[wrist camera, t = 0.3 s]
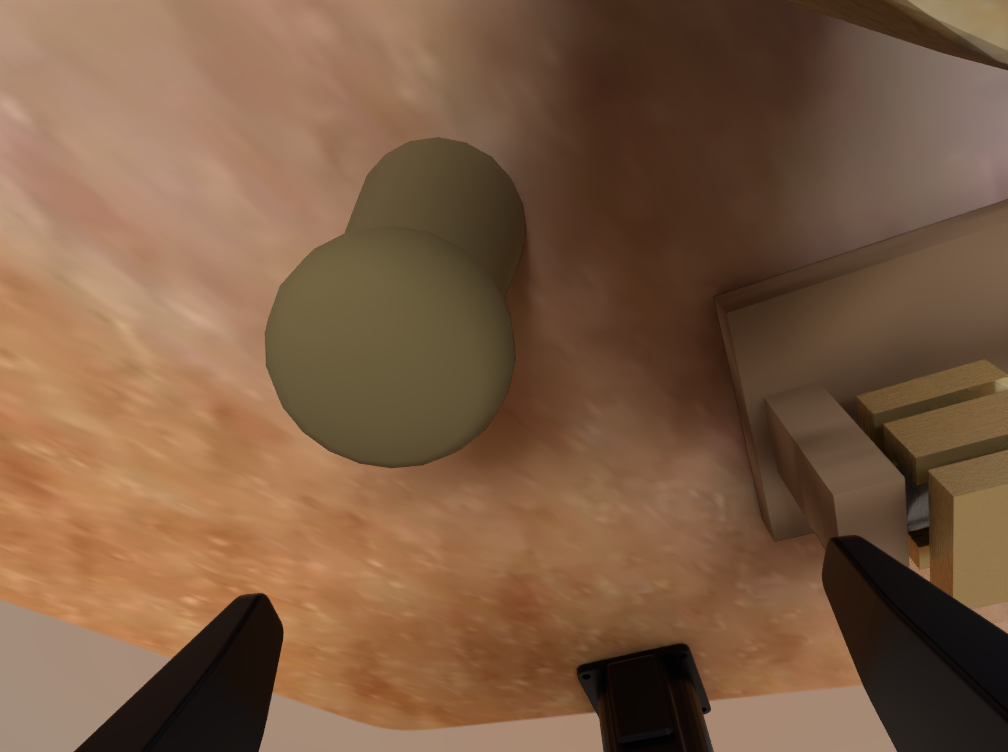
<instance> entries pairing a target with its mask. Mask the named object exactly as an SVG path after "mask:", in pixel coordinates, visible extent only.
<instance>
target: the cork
mask: <svg viewBox="0 0 1008 752" xmlns="http://www.w3.org/2000/svg"><path fill="white" fill-rule="evenodd" d="M525 234H526V225H525V217H524V208H523V203H522V201H521V199H520V197H519V194H518V192H517V190H516V188H515V186H514V183H513V181H512V179H511V178H510V177H509V176H508V175H507V173H506V172H505V171H504V170H503V169H502V168H501V167H500V166H499V165H498V164H497V163H496V161H495V160H494V159H493V158H492V157H490V156H489V155H487V154H485V153H483V152H481V151H480V150H478V149H476V148H474V147H473V146H471V145H469V144H467V143H464V142H459V141H454V140H448V139H443V138H431V139H424V140H417V141H411V142H408V143H406V144H404V145H402V146H401V147H399V148H397V149H395V150H393V151H391V152H389V153H388V154H386V155H385V156H384V157H383V158H382V159H381V160H380V161H379V162H378V164H377V165H376V166H375V167H374V168H373V169H372V170H371V171H370V173H369V174H368V175H367V177H366V179H365V182H364V184H363V187H362V189H361V192H360V194H359V197H358V200H357V202H356V205H355V207H354V210H353V213H352V215H351V218H350V221H349V223H348V226H347V228H346V231H345V234H343V235H341V236H339V237H337V238H335V239H333V240H331V241H329V242H327V243H325V244H323V245H321V246H319V247H317V248H315V249H314V250H313V251H312V252H311V253H310V254H309V255H308V256H306V257H305V258H304V260H303V261H302V262H301V263H300V264H299V265H298V266H297V267H296V268H295V270H294V271H293V272H292V273H291V274H290V275H289V276H288V277H287V279H286V280H285V281H284V282H283V283H282V284H281V285H280V287H279V290H278V293H277V296H276V299H275V301H274V304H273V307H272V310H271V313H270V315H269V318H268V322H267V326H266V330H265V350H266V367H267V370H268V372H269V375H270V377H271V380H272V382H273V385H274V387H275V390H276V392H277V395H278V397H279V400H280V402H281V404H282V406H283V408H284V409H285V410H286V412H287V413H288V414H289V415H290V417H291V418H292V419H293V420H294V422H295V423H296V424H297V425H298V427H299V428H300V429H301V430H302V431H303V432H304V433H305V434H306V435H308V436H309V437H310V438H312V439H313V440H315V441H316V442H317V443H319V444H320V445H322V446H323V447H324V448H326V449H327V450H328V451H330V452H333V453H335V454H338V455H340V456H342V457H345V458H347V459H350V460H352V461H355V462H357V463H360V464H367V465H373V466H380V467H387V468H399V467H409V466H418V465H424V464H427V463H430V462H432V461H435V460H437V459H440V458H443V457H445V456H448V455H450V454H452V453H454V452H456V451H458V450H460V449H462V448H463V447H464V446H465V445H467V444H468V443H469V442H471V441H472V440H473V439H474V438H476V437H477V436H478V435H479V434H481V433H482V432H483V431H484V430H486V428H487V427H488V425H489V424H490V422H491V420H492V419H493V417H494V416H495V414H496V413H497V411H498V409H499V408H500V406H501V405H502V403H503V401H504V399H505V397H506V395H507V393H508V391H509V387H510V382H511V377H512V373H513V368H514V364H515V344H514V337H513V330H512V323H511V316H510V312H509V310H508V308H507V306H506V304H505V302H504V299H505V297H506V294H507V292H508V289H509V286H510V284H511V281H512V279H513V276H514V273H515V271H516V268H517V266H518V263H519V260H520V258H521V254H522V249H523V244H524V239H525Z"/></svg>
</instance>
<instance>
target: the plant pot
mask: <svg viewBox="0 0 1008 752" xmlns="http://www.w3.org/2000/svg"><path fill="white" fill-rule="evenodd" d="M787 1H790V2H792V3H795V4H798V5H800V6H803V7H806V8H808V9H811V10H814V11H816V12H819V13H822V14H825V15H828V16H831V17H834V18H837V19H840V20H843V21H846V22H849V23H852V24H855V25H859V26H862V27H865V28H868V29H871V30H874V31H877V32H880V33H883V34H886V35H889V36H892V37H895V38H898V39H901V40H904V41H907V42H911V43H914V44H917V45H920V46H923V47H926V48H929V49H932V50H935V51H938V52H941V53H944V54H948V55H952V56H956V57H960V58H963V59H967V60H971V61H975V62H978V63H982V64H986V65H990V66H994V67H997V68H1001V69H1005V70H1008V0H787Z"/></svg>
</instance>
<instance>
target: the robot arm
mask: <svg viewBox="0 0 1008 752" xmlns="http://www.w3.org/2000/svg"><path fill="white" fill-rule="evenodd" d="M822 582H823V587H824V590H825V592H826V595H827V597H828V600H829V602H830V605H831V607H832V610H833V612H834V615H835V617H836V620H837V622H838V625H839V627H840V630H841V632H842V635H843V637H844V640H845V642H846V645H847V647H848V649H849V652H850V654H851V657H852V659H853V662H854V664H855V667H856V669H857V672H858V674H859V677H860V679H861V681H862V683H863V686H864V688H865V690H866V692H867V694H868V696H869V698H870V700H871V702H872V704H873V706H874V708H875V710H876V712H877V714H878V716H879V718H880V720H881V721H882V723H883V725H884V727H885V729H886V731H887V733H888V735H889V737H890V738H891V741H892V742H893V744H894V746H895V748H896V750H897V752H1008V633H1006V632H1005V631H1003V630H1002V629H1000V628H999V627H997V626H995V625H994V624H992V623H991V622H989V621H988V620H986V619H985V618H983V617H982V616H980V615H979V614H977V613H976V612H974V611H973V610H971V609H970V608H968V607H967V606H965V605H964V604H962V603H961V602H959V601H958V600H956V599H955V598H953V597H952V596H950V595H949V594H947V593H946V592H944V591H943V590H941V589H940V588H938V587H937V586H935V585H934V584H932V583H931V582H929V581H928V580H926V579H925V578H923V577H922V576H920V575H919V574H917V573H916V572H914V571H913V570H911V569H910V568H908V567H907V566H905V565H904V564H902V563H901V562H899V561H898V560H896V559H895V558H893V557H892V556H890V555H889V554H887V553H886V552H884V551H883V550H881V549H880V548H878V547H877V546H875V545H874V544H872V543H871V542H869V541H868V540H866V539H864V538H863V537H861V536H858V535H846V536H836V537H831V538H830V539H829V540H828V541H827V545H826V551H825V557H824V563H823V569H822ZM283 634H284V632H283V626H282V623H281V620H280V619H279V617H278V615H277V613H276V611H275V609H274V607H273V605H272V604H271V602H270V600H269V598H268V597H267V596H266V595H265V594H263V593H255V594H245V595H241V596H239V597H237V598H236V599H235V600H233V601H232V602H231V603H230V604H229V605H228V606H227V607H226V608H225V609H224V610H223V611H222V612H221V613H220V614H219V615H218V616H217V617H216V618H214V619H213V620H212V621H211V622H210V623H209V624H208V625H207V626H206V627H205V628H204V629H203V630H202V631H201V632H200V633H199V634H198V635H197V636H195V637H194V638H193V639H192V640H191V641H190V642H189V643H188V644H187V645H186V646H185V647H184V648H183V649H182V650H181V651H180V652H179V653H178V654H176V655H175V656H174V657H173V658H172V659H171V660H170V661H169V662H168V663H167V664H166V665H165V666H164V667H163V668H162V669H161V670H160V671H159V672H158V673H157V674H155V675H154V676H153V677H152V678H151V679H150V680H149V681H148V682H147V683H146V684H145V685H144V686H143V687H142V688H141V689H140V690H139V691H138V692H136V693H135V694H134V695H133V696H132V697H131V698H130V699H129V700H128V701H127V702H126V703H125V704H124V705H123V706H122V707H121V708H120V709H118V710H117V711H116V712H115V713H114V714H113V715H112V716H111V717H110V718H109V719H108V720H107V721H106V722H105V723H104V724H103V725H102V726H100V727H99V728H98V729H97V730H96V731H95V732H94V733H93V734H92V735H91V736H90V737H89V738H88V739H87V740H86V741H85V742H84V743H83V744H81V745H80V746H79V747H78V748H77V749H76V750H75V751H74V752H259V748H260V744H261V741H262V737H263V734H264V729H265V725H266V721H267V716H268V711H269V706H270V701H271V696H272V692H273V687H274V682H275V677H276V672H277V667H278V662H279V657H280V652H281V647H282V642H283ZM577 675H578V679H579V681H580V683H581V685H582V687H583V689H584V691H585V692H586V694H587V696H588V698H589V700H590V702H591V704H592V705H593V707H594V709H595V711H596V713H597V715H598V717H599V719H600V727H601V735H602V742H603V750H604V752H714V751H713V748H712V744H711V740H710V737H709V733H708V730H707V726H706V723H705V720H704V716H703V714H706V713H708V712H710V711H711V707H710V704H709V701H708V698H707V695H706V692H705V689H704V687H703V684H702V681H701V678H700V676H699V673H698V670H697V667H696V664H695V662H694V659H693V656H692V653H691V651H690V648H689V647H688V646H687V645H684V644H679V645H674V646H669V647H665V648H660V649H656V650H651V651H646V652H642V653H637V654H633V655H628V656H623V657H619V658H614V659H609V660H605V661H600V662H596V663H591V664H586V665H582V666H580V667H579V668H578V669H577Z"/></svg>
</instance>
